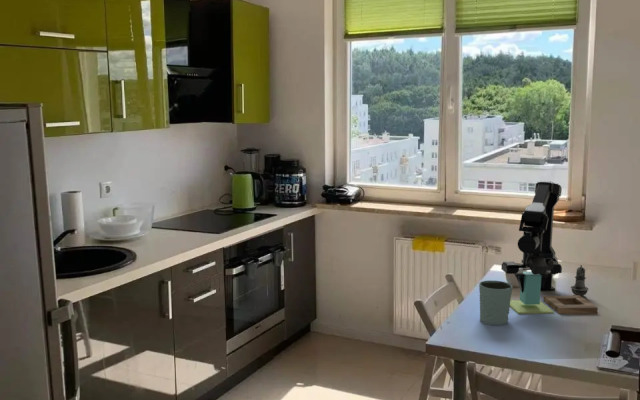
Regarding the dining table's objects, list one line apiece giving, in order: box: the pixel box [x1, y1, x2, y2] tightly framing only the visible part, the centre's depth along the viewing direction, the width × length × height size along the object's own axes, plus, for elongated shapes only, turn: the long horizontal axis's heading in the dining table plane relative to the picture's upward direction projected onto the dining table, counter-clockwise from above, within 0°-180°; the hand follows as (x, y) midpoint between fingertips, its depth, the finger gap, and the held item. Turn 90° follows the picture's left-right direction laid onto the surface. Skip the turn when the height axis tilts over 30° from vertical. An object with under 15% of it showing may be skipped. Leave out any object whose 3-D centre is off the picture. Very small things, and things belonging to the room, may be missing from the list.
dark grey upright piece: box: [570, 264, 589, 300], centre depth 225 cm, size 6×6×12 cm
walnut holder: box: [542, 294, 599, 315], centre depth 216 cm, size 13×13×2 cm
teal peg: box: [519, 270, 542, 305], centre depth 214 cm, size 5×5×10 cm
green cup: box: [478, 279, 513, 327], centre depth 201 cm, size 10×10×12 cm
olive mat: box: [510, 299, 555, 315], centre depth 215 cm, size 12×12×1 cm
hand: (529, 292), depth 214 cm, fingers closed on teal peg, 5 cm apart
